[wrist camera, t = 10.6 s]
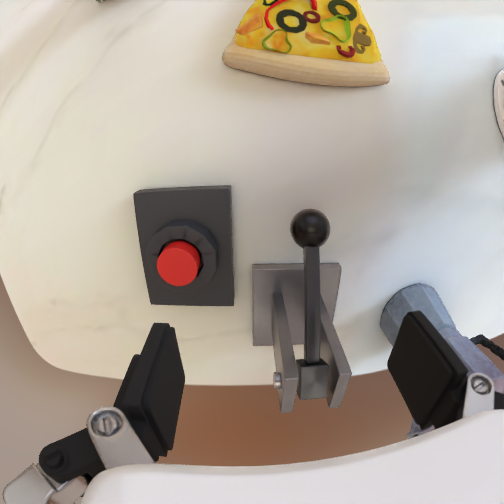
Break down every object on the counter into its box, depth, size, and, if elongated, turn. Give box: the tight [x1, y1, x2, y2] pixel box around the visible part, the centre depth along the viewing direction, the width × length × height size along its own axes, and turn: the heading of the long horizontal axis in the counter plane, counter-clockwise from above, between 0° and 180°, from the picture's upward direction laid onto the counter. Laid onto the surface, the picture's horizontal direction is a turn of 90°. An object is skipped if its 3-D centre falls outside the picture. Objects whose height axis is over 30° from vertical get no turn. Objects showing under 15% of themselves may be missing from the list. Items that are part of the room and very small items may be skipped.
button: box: [157, 241, 200, 286], centre depth 24 cm, size 4×4×2 cm
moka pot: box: [380, 284, 504, 439], centre depth 22 cm, size 10×15×20 cm, turn 111°
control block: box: [133, 186, 234, 306], centre depth 26 cm, size 12×9×4 cm
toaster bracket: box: [253, 263, 352, 413], centre depth 25 cm, size 10×9×13 cm
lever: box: [290, 209, 330, 400], centre depth 21 cm, size 15×3×3 cm
